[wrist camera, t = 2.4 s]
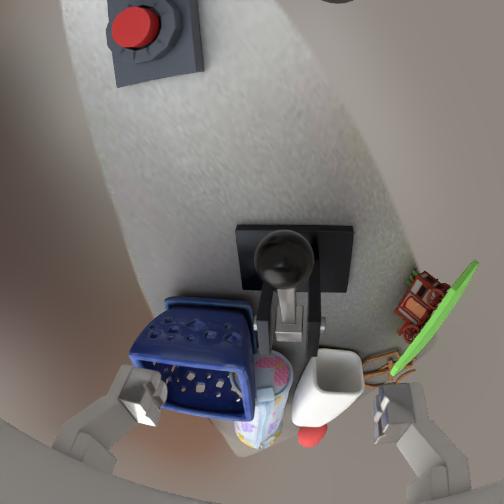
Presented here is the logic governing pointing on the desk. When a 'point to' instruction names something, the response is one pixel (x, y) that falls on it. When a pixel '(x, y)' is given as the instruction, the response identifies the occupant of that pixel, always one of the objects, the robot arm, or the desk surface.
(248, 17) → the desk surface
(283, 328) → the switch lever
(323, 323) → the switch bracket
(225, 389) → the flower pot
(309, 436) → the stress ball
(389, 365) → the emblem
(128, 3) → the control box
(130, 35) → the button
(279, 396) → the pencil case
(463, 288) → the green stand with toy
